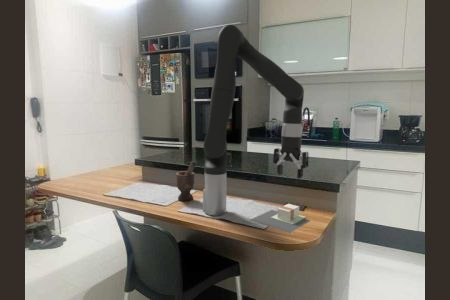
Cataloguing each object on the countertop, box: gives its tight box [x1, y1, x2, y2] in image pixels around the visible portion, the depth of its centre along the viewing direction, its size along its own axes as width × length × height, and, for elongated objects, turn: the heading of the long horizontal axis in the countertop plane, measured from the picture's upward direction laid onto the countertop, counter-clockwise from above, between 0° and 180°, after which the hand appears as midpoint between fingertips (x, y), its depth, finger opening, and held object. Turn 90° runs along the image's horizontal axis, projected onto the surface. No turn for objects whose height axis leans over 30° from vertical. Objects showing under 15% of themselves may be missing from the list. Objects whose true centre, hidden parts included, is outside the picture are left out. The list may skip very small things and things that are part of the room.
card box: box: [277, 204, 300, 221], centre depth 120 cm, size 8×5×4 cm, turn 138°
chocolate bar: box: [282, 201, 306, 212], centre depth 130 cm, size 9×1×18 cm
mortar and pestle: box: [175, 160, 197, 202], centre depth 143 cm, size 12×9×20 cm
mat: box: [249, 209, 311, 234], centre depth 118 cm, size 18×18×1 cm
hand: (289, 176), depth 118 cm, fingers open, 8 cm apart
